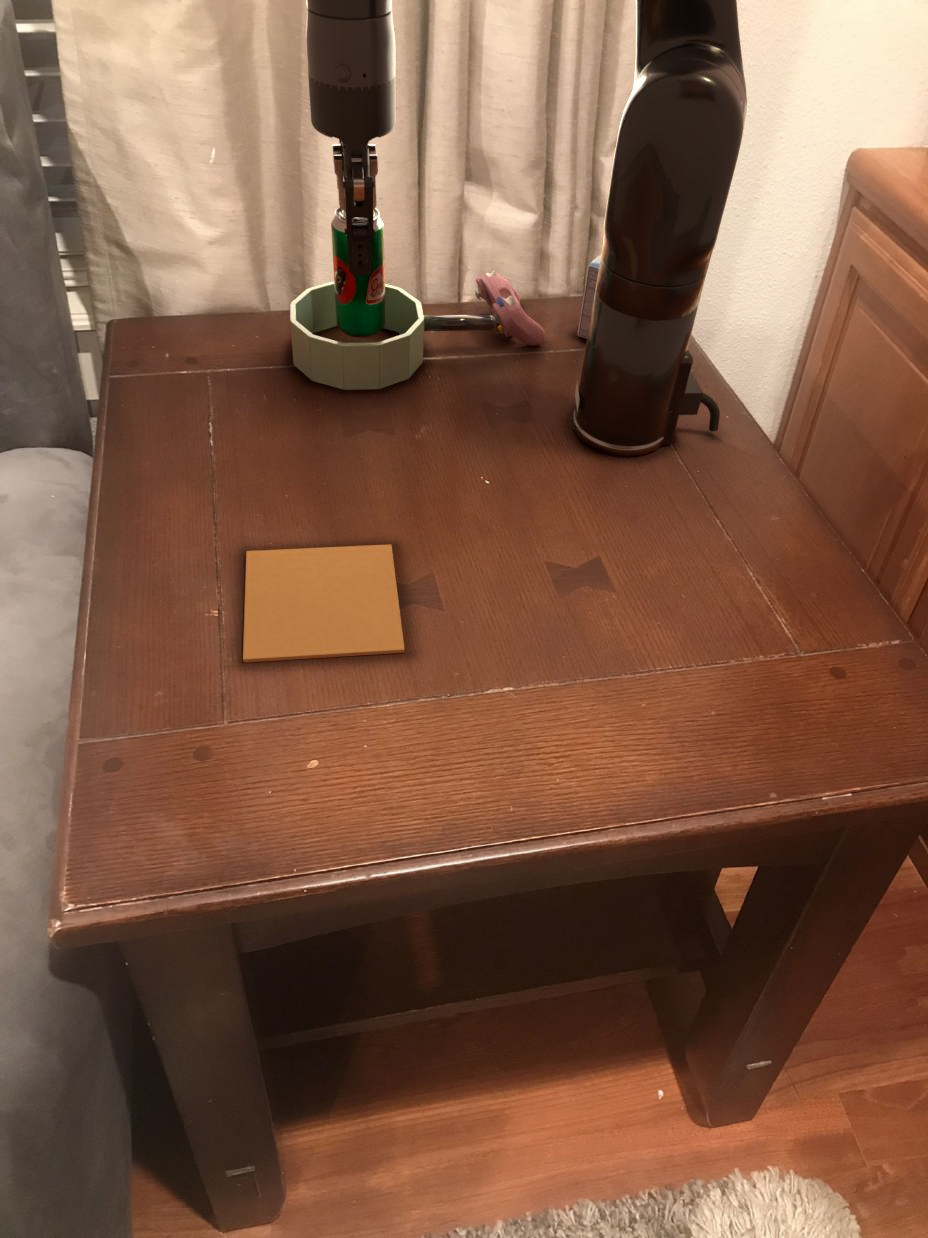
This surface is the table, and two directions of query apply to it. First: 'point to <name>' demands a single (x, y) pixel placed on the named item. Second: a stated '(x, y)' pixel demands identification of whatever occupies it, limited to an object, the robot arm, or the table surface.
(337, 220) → the soda can
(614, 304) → the robot arm
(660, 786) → the table surface
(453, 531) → the table surface
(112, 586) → the table surface
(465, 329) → the pan
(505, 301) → the video game controller
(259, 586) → the cork mat
